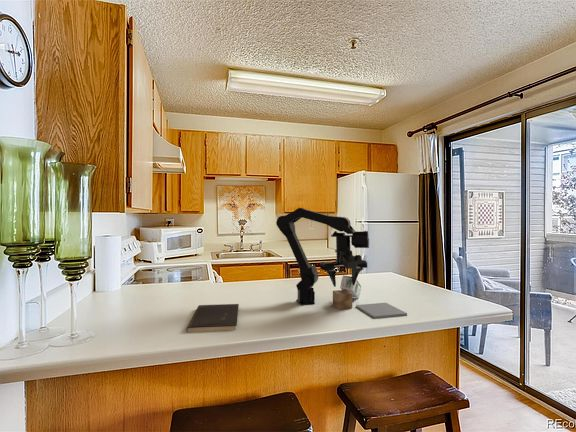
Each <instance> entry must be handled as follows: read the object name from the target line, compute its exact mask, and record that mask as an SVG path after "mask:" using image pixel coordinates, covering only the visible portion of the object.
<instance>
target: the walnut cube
mask: <svg viewBox="0 0 576 432" xmlns="http://www.w3.org/2000/svg"><path fill="white" fill-rule="evenodd" d="M353 298H354V297H353V294H352V293H350V292H349V291H347V290H341V289H340V290H339V289H337V290H332V306H333V307H335V308H336V309H337V310H349V309H351V310H352V309H353Z"/></svg>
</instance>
